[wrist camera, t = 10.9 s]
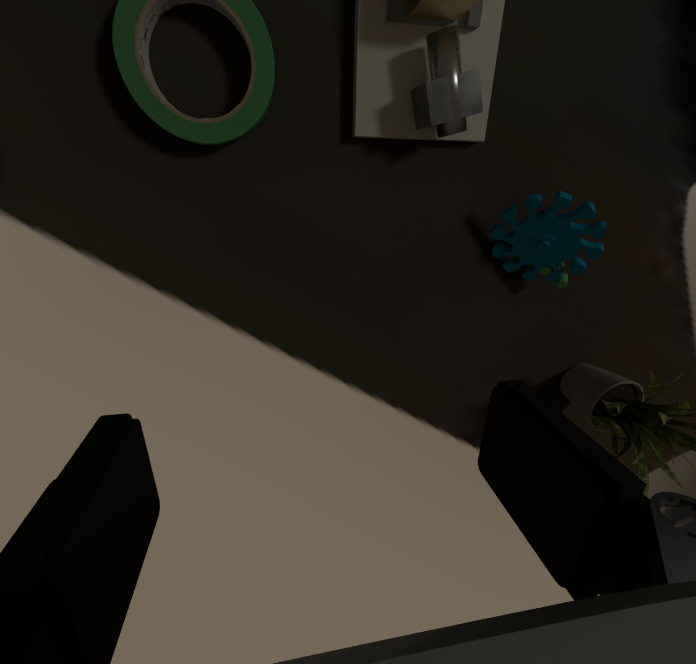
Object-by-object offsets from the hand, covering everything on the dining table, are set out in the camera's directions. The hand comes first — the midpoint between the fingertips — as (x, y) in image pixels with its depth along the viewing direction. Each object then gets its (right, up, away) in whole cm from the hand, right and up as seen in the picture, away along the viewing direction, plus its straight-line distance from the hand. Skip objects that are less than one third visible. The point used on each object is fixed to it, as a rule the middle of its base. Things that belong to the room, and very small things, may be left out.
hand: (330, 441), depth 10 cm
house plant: (+32, -2, +39) cm, 50 cm away
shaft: (+8, +23, +22) cm, 33 cm away
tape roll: (-11, +24, +19) cm, 33 cm away
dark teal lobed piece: (+19, +13, +30) cm, 38 cm away
